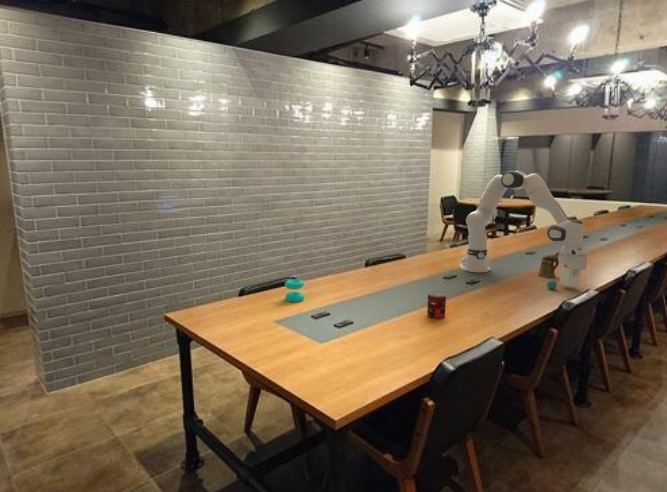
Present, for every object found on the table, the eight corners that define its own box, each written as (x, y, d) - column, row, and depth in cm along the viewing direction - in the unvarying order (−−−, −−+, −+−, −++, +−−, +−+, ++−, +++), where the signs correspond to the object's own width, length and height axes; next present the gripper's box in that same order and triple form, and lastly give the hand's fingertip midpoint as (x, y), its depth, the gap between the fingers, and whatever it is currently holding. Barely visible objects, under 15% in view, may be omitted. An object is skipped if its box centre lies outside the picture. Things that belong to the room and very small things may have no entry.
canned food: (425, 313, 205) (425, 291, 203) (441, 313, 206) (442, 290, 204) (430, 319, 198) (430, 296, 196) (447, 318, 199) (448, 295, 196)
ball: (544, 287, 245) (545, 279, 244) (553, 287, 245) (554, 278, 244) (549, 290, 240) (550, 281, 239) (558, 290, 240) (559, 281, 239)
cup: (559, 282, 246) (561, 267, 244) (571, 282, 246) (573, 266, 245) (567, 285, 239) (568, 270, 237) (579, 285, 240) (581, 269, 238)
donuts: (292, 277, 234) (307, 280, 228) (293, 295, 236) (308, 298, 230) (280, 282, 225) (296, 284, 220) (281, 300, 227) (296, 304, 222)
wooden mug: (556, 279, 261) (559, 250, 258) (535, 275, 272) (537, 246, 269) (564, 277, 266) (567, 248, 263) (543, 273, 277) (545, 245, 274)
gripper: (556, 246, 249) (554, 269, 252) (578, 253, 229) (576, 278, 232) (566, 245, 250) (564, 269, 252) (590, 252, 229) (587, 278, 232)
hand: (570, 274), depth 242 cm, fingers closed on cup, 7 cm apart
